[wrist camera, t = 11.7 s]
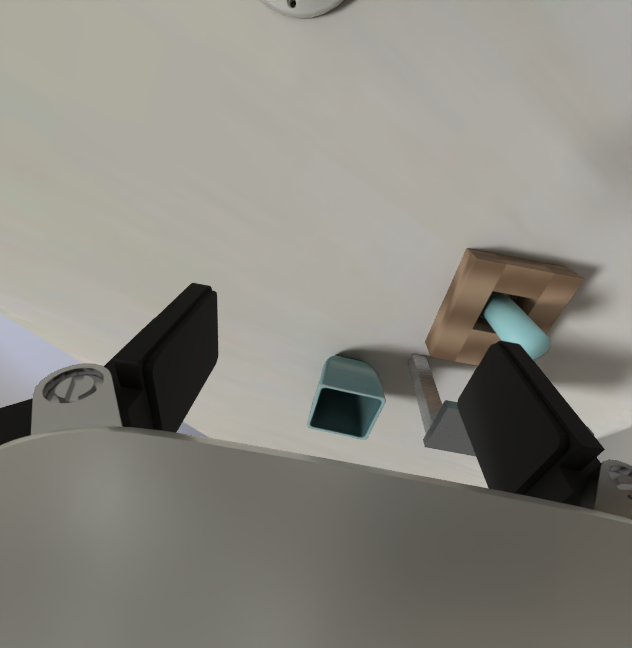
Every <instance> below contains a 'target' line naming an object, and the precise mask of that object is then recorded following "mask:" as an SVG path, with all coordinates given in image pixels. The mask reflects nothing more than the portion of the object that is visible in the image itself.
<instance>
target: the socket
mask: <svg viewBox="0 0 632 648" xmlns="http://www.w3.org/2000/svg"><path fill="white" fill-rule="evenodd" d="M583 281H584V278H582V277H581V276H579V275H577V274H576V273H574V272H573V271H571V270H569V269H568V268H566V267H563V266H557V265H552V264H547V263H541V262H536V261H531V260H526V259H520V258H515V257H510V256H505V255H499V254H494V253H489V252H483V251H478V250H473V249H468V248H467V249H466V251H465V254H464V256H463V258H462V260H461V263H460V265H459V267H458V269H457V271H456V274H455V276H454V278H453V280H452V283H451V285H450V287H449V289H448V292H447V294H446V296H445V298H444V301H443V303H442V305H441V307H440V310H439V312H438V314H437V316H436V319H435V321H434V323H433V325H432V328H431V330H430V332H429V334H428V337H427V339H426V341H425V343H426V346H427V348H428V351H429V354H430V357H433V358H439V359H444V360H449V361H455V362H460V363H465V364H471V365H476V366H478V365H479V363H480V362H481V360H482V358H483V357H484V355H485V353H486V352H487V350H488V348H489V347H490V346H491V345H492V344H496V343H497V342H498V341H502V340H501V339H500V338H499V336H498V335H497V334H496V332H495V331H494V329H493V328H492V327H491V325H490V324H489V323H488V321H487V320H486V319H482V318H478V317H479V315H480V313H481V312H482V310H483V308H484V306H485V304H486V302H487V300H488V298H489V297H490V295H491V293H492V291H495V292H500V293H506V294H511V295H516V296H518V297H517V299H516V300H515V303H516V304H517V305H518V306H519V307H520V308H521V309H522V310H523V311H524V312H525V313H526V315H527V316H528V317H529V318H530V319H531V320H532V321H533V322H534V323H535V324H536V325H537V326H538V327H539V328H540V329H541V330H542V331H543V332H544V333H545V334H546V333H547V332H548V330H549V329H550V327H551V326H552V324H553V323H554V322H555V320H556V319H557V317H558V316H559V315H560V313H561V312H562V310H563V309H564V307H565V306H566V305H567V303H568V302H569V300H570V299H571V298H572V296H573V295H574V293H575V292H576V290H577V289H578V288H579V286H580V285H581V283H582V282H583Z"/></svg>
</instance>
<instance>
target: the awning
mask: <svg viewBox="0 0 632 648" xmlns="http://www.w3.org/2000/svg"><path fill="white" fill-rule="evenodd" d="M408 365H409V369H410V373H411V377H412V381H413V385H414V389H415V393H416V397H417V401H418V405H419V409H420V413H421V417H422V421H423V425H424V428H425V432H426V435H425V437H424V439H423V441H424V445H425V447H428V448H433V449H439V450H444V451H450V452H455V453H460V454H466V455H471V456H476V454H475V452H474V449H473V447H472V444H471V442H470V439H469V436H468V434H467V431H466V429H465V426H464V424H463V421H462V419H461V416H460V413H459V411H458V408H457V402H453V401H447V400H445V402H444V403H443V405H442V403H441V400H440V397H439V394H438V391H437V388H436V385H435V382H434V379H433V376H432V373H431V370H430V367H429V364H428V361H427V358H426V356H421V355H416V354H412V356H411V359H410V361H409V363H408ZM586 427H587V426H586ZM587 428H588V427H587ZM588 429H589V428H588ZM589 430H590V429H589ZM590 432H591V433H592V431H591V430H590ZM592 434H593V433H592ZM593 435H594V434H593Z"/></svg>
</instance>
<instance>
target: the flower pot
mask: <svg viewBox="0 0 632 648" xmlns="http://www.w3.org/2000/svg"><path fill="white" fill-rule="evenodd" d="M385 402H386V399H385V396H384V392H383V389H382V386H381V383H380V380H379V377H378V375H377V373H376V372H375V370H374V369H373V368H372V367H371V366H369V365H368V364H366V363H365V362H362V361H358V360H353V359H349V358H345V357H341V356H336V355H335V356H332V357H330V358H329V359H328V360H327V361H326V363H325V365H324V367H323V370H322V374H321V378H320V381H319V384H318V387H317V390H316V393H315V396H314V399H313V403H312V407H311V411H310V415H309V418H308V422H307V427H308V428H312V429H316V430H321V431H325V432H330V433H335V434H340V435H345V436H349V437H353V438H357V439H364V440H365V439H367V438H368V436H369V434H370V432H371V430H372V428H373V426H374V424H375V422H376V420H377V418H378V416H379V414H380V412H381V410H382V408H383V406H384V404H385Z"/></svg>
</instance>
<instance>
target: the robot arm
mask: <svg viewBox="0 0 632 648" xmlns="http://www.w3.org/2000/svg"><path fill="white" fill-rule="evenodd" d="M262 1H263V2H264V3H265V4H266V5H267V6H269V7H270V8H271V9H273V10H275V11H277V12H279V13H281V14H282V15H286V16H290V17H294V18H311V17H315V16H319V15H322V14H325V13H326V12H328V11H330V10H332V9H333V8H335V7H337V6H338V5H339V4H340V3H341V2H342V1H344V0H262ZM292 1H295V2H296V6H295V7H294V8H292V7H291V2H292ZM217 359H218V318H217V293H216V291H212V288H211V287H210V286H207V285H202V284H197V283H192V284H190V285H189V286H188V287H187V288H186V289H185V290H184V291H183V292H182V293H181V294H180V295H179V296H178V297H177V298H176V299H175V300H174V301H172V302H171V303H170V304H169V305H168V306H167V307H166V308H165V309H164V310H163V311H162V312H161V313H160V314H159V315H158V316H157V317H156V318H154V319H153V320H152V321H151V322H150V323H149V324H148V325H147V326H146V327H145V328H143V329H142V330H141V331H140V332H139V333H138V334H137V335H136V336H135V337H134V338H133V339H132V340H131V341H130V342H129V343H128V344H127V345H126V346H125V347H124V348H122V349H121V350H120V351H119V352H118V353H117V354H116V355H115V356H114V357H113V358H112V359H111V360H110V361H109V362H108V363H107V364H106V365H105V366H104V367H103V366H101V365H97V364H77V365H72V366H69V367H65V368H62V369H60V370H58V371H55V372H54V373H51V374H50V375H48V376H47V377H45V378H44V379H43V380H41V381H40V383H39V384H38V385H37V386H36V388H35V390H34V393H33V399H29V400H26V401H23V402H19V403H16V404H13V405H9V406H6V407H3V408H0V648H632V466H631V465H629V464H626V463H623V462H621V461H617V460H606V461H604V462H602V463H600V461H599V460H598V459H597V456H598V455H599V454H600V453H601V452H602V451H604V450H605V449H604V448H603V447H602V445H601V444H600V443H599V442H598V440H597V439H596V438H595V437H594V435H593V434H592V433H591V432H590V430H589V429H588V428H587V427H586V425H585V424H584V423H583V422H582V420H581V419H580V418H579V417H578V415H577V414H576V413H575V412H574V411H573V409H572V408H571V407H570V406H569V404H568V403H567V402H566V401H565V399H564V398H563V397H562V396H561V394H560V393H559V392H558V391H557V389H556V388H555V387H554V386H553V384H552V383H551V382H550V381H549V379H548V378H547V377H546V376H545V374H544V373H543V372H542V371H541V369H540V368H539V367H538V366H537V364H536V363H535V362H534V361H533V360H532V358H531V357H530V356H529V355H528V353H527V352H526V351H525V350H524V348H523V347H522V346H521V345H520V344H517V343H512V342H507V341H498V342H497V343H496V344H492V345H491V346H490V347H489V348H488V350H487V352H486V353H485V355H484V357H483V358H482V360H481V362H480V363H479V365H478V367H477V369H476V370H475V372H474V374H473V375H472V377H471V379H470V380H469V382H468V384H467V385H466V387H465V389H464V390H463V392H462V394H461V395H460V397H459V399H458V402H457V408H458V411H459V413H460V416H461V419H462V421H463V424H464V426H465V429H466V431H467V434H468V436H469V439H470V442H471V444H472V447H473V449H474V452H475V454H476V457H477V459H478V462H479V465H480V467H481V470H482V472H483V475H484V477H485V480H486V483H487V485H488V488H489V489H488V488H483V487H477V486H472V485H467V484H461V483H456V482H451V481H446V480H440V479H435V478H430V477H424V476H419V475H413V474H408V473H402V472H397V471H392V470H386V469H381V468H375V467H370V466H364V465H359V464H353V463H348V462H342V461H337V460H331V459H326V458H320V457H315V456H309V455H304V454H298V453H292V452H287V451H281V450H275V449H270V448H264V447H259V446H253V445H247V444H242V443H236V442H231V441H225V440H218V439H212V438H206V437H200V436H193V435H187V434H181V433H176V432H177V430H178V429H179V427H180V425H181V423H182V422H183V420H184V418H185V417H186V415H187V413H188V411H189V410H190V408H191V406H192V404H193V403H194V401H195V399H196V397H197V396H198V394H199V392H200V391H201V389H202V387H203V385H204V384H205V382H206V380H207V378H208V377H209V375H210V373H211V371H212V370H213V368H214V366H215V365H216V362H217Z"/></svg>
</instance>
